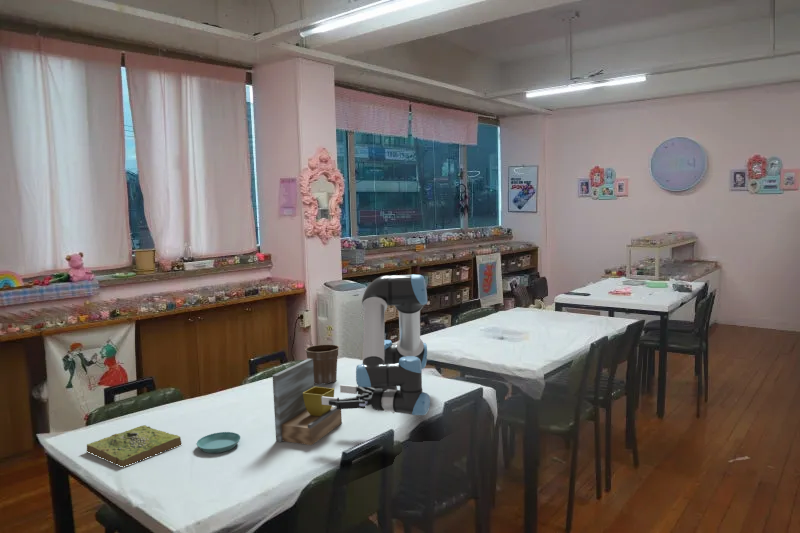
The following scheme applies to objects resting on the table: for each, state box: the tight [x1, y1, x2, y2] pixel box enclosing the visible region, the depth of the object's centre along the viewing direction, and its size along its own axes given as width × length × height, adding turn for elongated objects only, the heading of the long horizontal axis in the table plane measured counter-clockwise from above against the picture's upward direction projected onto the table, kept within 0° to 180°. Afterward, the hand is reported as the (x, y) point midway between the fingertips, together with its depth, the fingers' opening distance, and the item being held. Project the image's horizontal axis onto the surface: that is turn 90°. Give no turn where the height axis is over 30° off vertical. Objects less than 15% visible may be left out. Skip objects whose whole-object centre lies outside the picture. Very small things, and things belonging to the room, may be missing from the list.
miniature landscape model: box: [86, 424, 182, 467], centre depth 204 cm, size 22×24×5 cm
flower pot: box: [303, 386, 335, 416], centre depth 215 cm, size 9×9×9 cm
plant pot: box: [304, 344, 340, 385], centre depth 278 cm, size 16×16×16 cm
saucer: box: [195, 431, 241, 454], centre depth 203 cm, size 15×15×3 cm
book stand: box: [271, 358, 343, 446], centre depth 214 cm, size 14×24×24 cm, turn 157°
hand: (331, 394), depth 210 cm, fingers open, 13 cm apart
